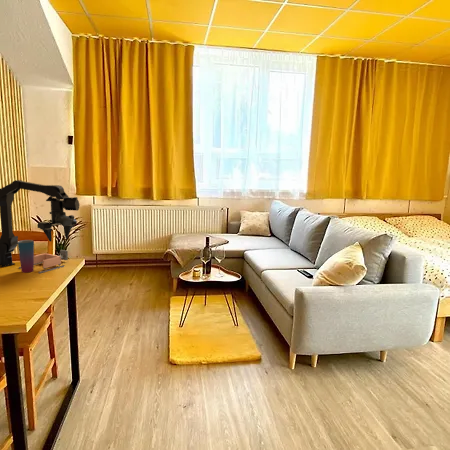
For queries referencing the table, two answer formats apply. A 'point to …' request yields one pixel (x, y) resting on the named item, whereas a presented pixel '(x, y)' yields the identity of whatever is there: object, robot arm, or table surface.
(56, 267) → the rails
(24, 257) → the cup
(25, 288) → the table surface
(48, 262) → the caddy
